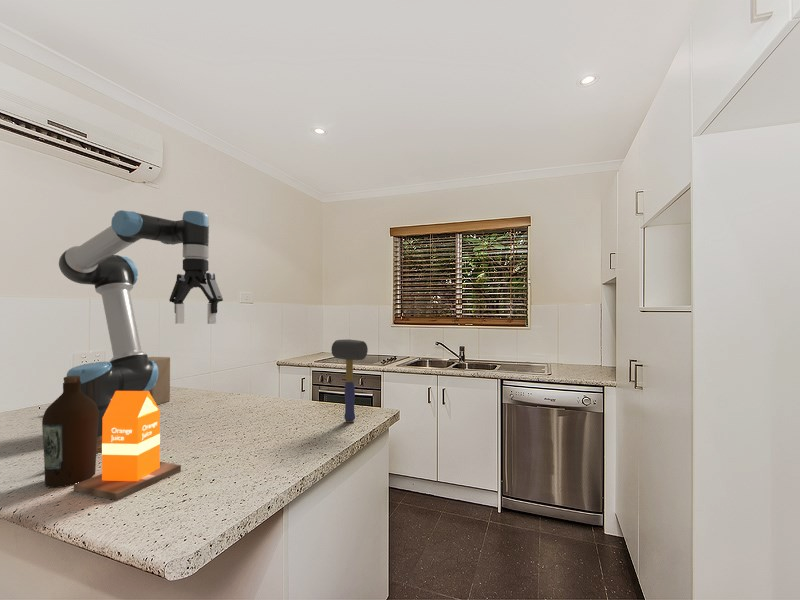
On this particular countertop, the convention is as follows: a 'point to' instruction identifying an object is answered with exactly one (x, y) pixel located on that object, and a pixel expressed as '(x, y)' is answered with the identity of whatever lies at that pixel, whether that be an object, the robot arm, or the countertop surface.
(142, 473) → the orange juice
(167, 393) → the wooden block
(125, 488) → the board
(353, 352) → the rubber mallet
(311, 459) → the countertop surface
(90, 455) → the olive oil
